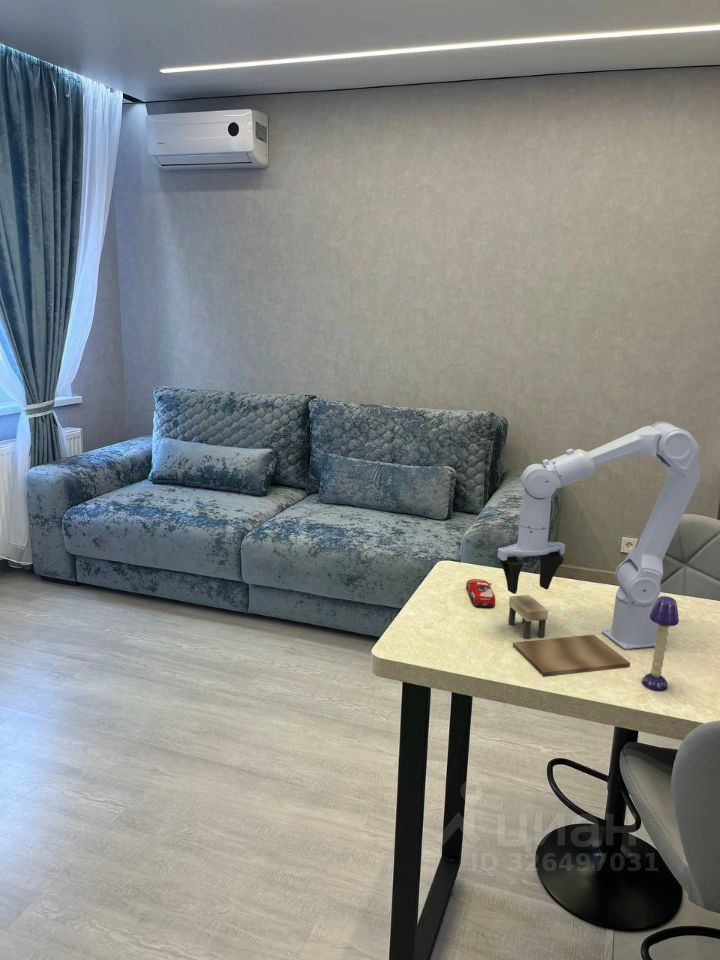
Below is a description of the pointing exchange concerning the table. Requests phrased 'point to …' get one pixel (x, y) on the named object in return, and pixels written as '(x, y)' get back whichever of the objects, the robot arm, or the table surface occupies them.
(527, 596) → the oak stool
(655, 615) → the toy lamp
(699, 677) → the table surface
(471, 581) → the race car
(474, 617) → the table surface
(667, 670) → the table surface
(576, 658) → the walnut board
